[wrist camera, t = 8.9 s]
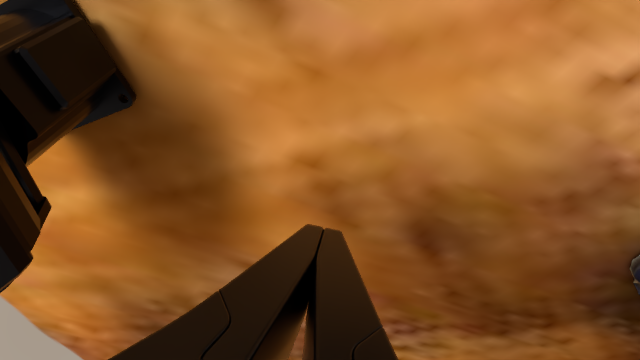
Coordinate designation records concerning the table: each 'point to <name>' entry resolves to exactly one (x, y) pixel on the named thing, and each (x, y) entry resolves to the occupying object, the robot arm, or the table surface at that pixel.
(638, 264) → the flask
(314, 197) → the table surface
